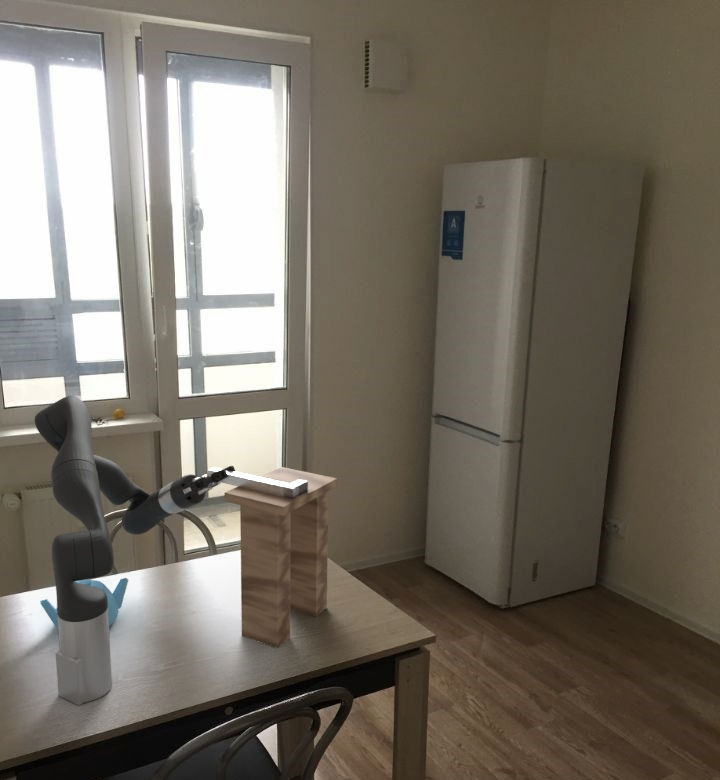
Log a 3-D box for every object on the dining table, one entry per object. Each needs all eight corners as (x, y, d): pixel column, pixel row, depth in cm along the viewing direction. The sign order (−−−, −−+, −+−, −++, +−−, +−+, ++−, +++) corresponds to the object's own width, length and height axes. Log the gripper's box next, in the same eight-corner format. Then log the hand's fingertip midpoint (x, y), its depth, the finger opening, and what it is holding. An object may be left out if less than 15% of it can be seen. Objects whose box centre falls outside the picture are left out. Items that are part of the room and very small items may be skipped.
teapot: (133, 610, 172) (132, 569, 170) (103, 643, 158) (101, 599, 156) (75, 604, 174) (72, 564, 172) (40, 637, 160) (36, 593, 158)
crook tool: (292, 499, 154) (292, 488, 153) (207, 479, 165) (207, 469, 165) (307, 491, 159) (307, 481, 158) (224, 472, 170) (224, 463, 170)
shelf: (283, 651, 156) (283, 506, 149) (226, 631, 164) (224, 492, 157) (334, 609, 175) (337, 478, 168) (281, 592, 183) (281, 466, 176)
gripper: (154, 488, 166) (202, 463, 157) (195, 472, 178) (242, 449, 169) (167, 517, 166) (216, 494, 157) (207, 500, 178) (254, 477, 169)
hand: (229, 471), depth 163 cm, fingers closed on crook tool, 2 cm apart
